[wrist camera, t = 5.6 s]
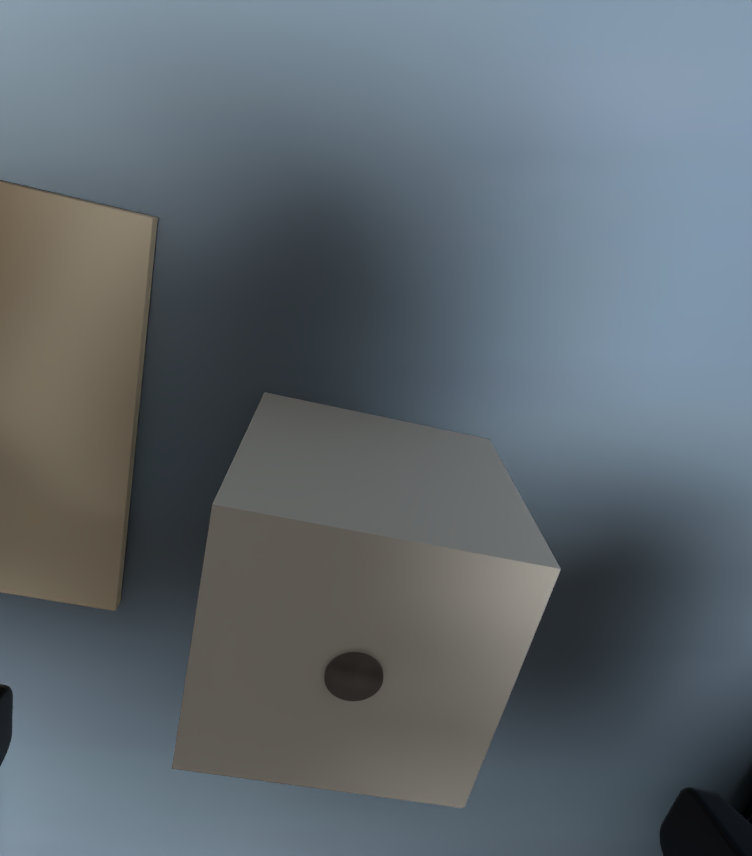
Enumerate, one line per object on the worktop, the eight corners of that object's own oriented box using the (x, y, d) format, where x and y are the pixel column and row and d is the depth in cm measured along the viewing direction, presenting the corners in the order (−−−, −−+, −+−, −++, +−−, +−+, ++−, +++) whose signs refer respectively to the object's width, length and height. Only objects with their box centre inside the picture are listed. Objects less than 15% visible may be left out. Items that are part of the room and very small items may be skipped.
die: (489, 437, 13) (562, 572, 9) (430, 617, 15) (464, 812, 10) (261, 390, 13) (205, 505, 8) (228, 582, 14) (166, 771, 10)
